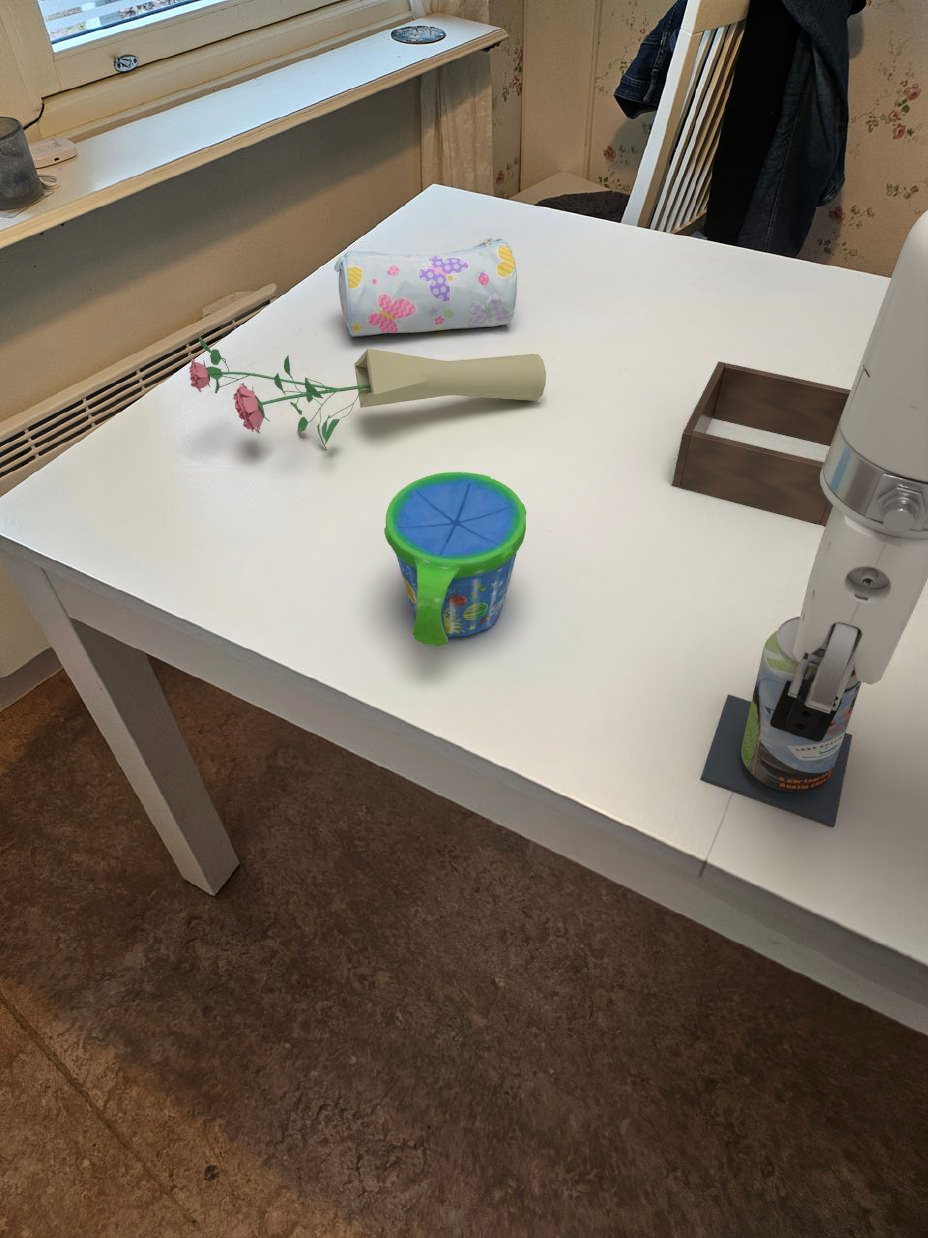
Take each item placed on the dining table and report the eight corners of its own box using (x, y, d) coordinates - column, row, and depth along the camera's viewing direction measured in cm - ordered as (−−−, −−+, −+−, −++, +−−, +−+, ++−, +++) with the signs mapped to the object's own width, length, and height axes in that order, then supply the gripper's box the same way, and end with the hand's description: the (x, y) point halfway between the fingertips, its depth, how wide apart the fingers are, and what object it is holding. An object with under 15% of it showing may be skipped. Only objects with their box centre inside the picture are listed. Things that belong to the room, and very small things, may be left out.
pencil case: (506, 301, 108) (508, 224, 102) (523, 335, 103) (526, 256, 96) (339, 318, 106) (329, 240, 99) (346, 354, 100) (336, 274, 93)
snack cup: (484, 695, 66) (486, 601, 58) (359, 658, 68) (345, 563, 61) (546, 563, 76) (554, 468, 68) (434, 534, 78) (430, 441, 71)
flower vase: (524, 474, 97) (200, 493, 82) (489, 390, 102) (179, 395, 87) (566, 400, 87) (208, 407, 73) (526, 312, 92) (183, 303, 78)
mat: (850, 738, 63) (852, 734, 63) (833, 827, 58) (834, 824, 58) (727, 697, 66) (728, 693, 65) (700, 779, 61) (701, 776, 60)
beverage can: (764, 814, 58) (811, 707, 49) (714, 727, 63) (748, 616, 54) (848, 790, 59) (908, 681, 50) (792, 707, 64) (838, 594, 55)
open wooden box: (850, 445, 87) (870, 393, 83) (828, 526, 79) (849, 473, 74) (706, 412, 91) (718, 360, 87) (671, 485, 83) (682, 432, 79)
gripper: (978, 603, 37) (844, 821, 50) (995, 397, 47) (881, 621, 61) (797, 553, 39) (715, 775, 52) (853, 366, 50) (773, 590, 63)
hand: (805, 690), depth 56 cm, fingers closed on beverage can, 6 cm apart
